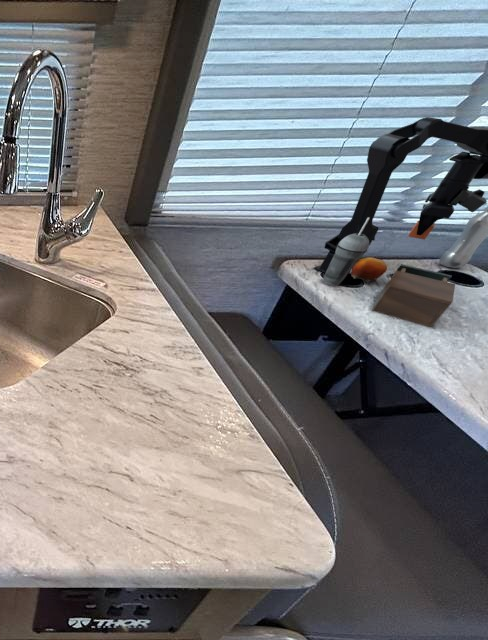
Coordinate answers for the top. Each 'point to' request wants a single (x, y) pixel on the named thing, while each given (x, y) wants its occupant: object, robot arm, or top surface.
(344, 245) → the beverage cup
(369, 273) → the fruit
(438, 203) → the robot arm
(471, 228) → the plastic bottle
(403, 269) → the drawer
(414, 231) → the block
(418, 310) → the cabinet
